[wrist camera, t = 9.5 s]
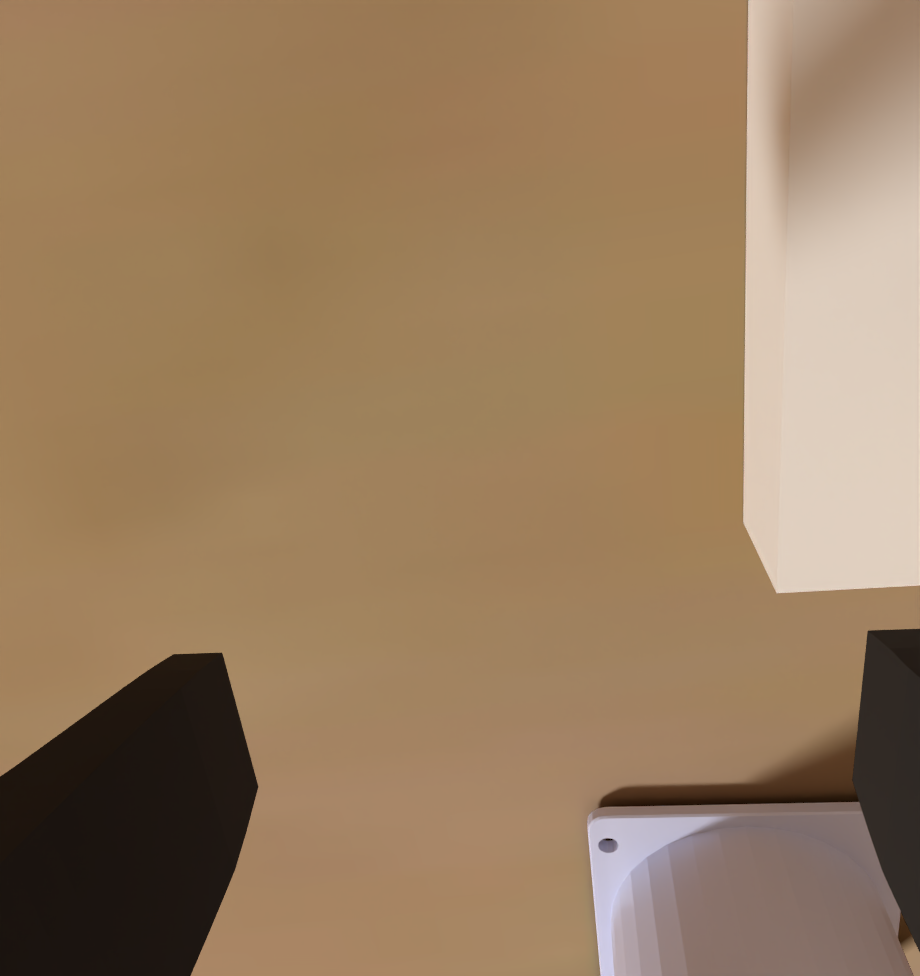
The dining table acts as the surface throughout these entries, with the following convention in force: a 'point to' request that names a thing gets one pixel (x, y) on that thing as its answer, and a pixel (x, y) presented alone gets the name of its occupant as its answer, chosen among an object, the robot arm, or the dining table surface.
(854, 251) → the socket block
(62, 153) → the dining table surface
